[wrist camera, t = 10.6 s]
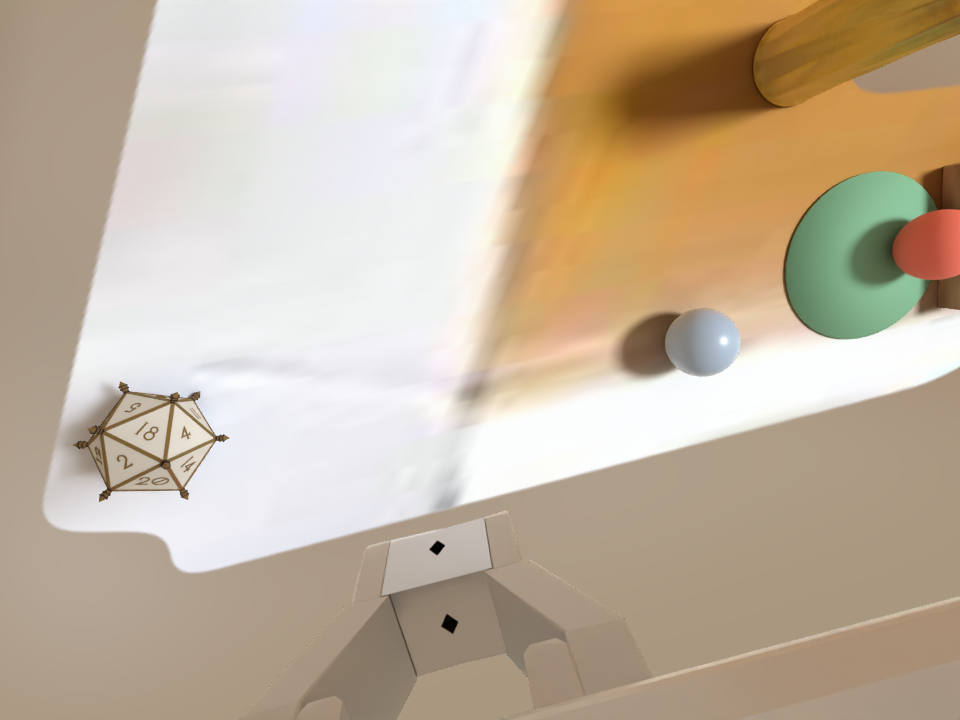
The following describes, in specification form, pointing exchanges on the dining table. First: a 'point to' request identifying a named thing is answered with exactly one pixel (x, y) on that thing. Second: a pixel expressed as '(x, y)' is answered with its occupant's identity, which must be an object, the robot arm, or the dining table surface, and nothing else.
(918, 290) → the green mark
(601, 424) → the dining table surface
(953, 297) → the walnut stop
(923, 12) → the vase
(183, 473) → the game die
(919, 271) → the red ball
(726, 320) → the blue ball
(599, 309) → the dining table surface
